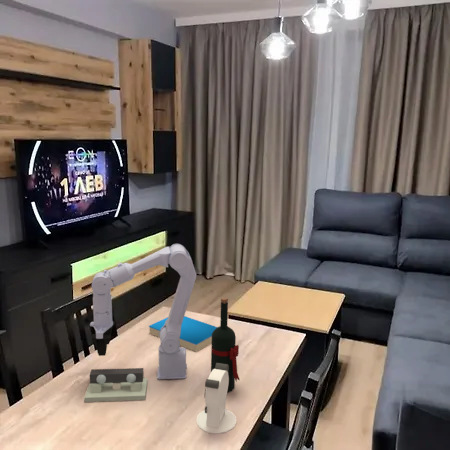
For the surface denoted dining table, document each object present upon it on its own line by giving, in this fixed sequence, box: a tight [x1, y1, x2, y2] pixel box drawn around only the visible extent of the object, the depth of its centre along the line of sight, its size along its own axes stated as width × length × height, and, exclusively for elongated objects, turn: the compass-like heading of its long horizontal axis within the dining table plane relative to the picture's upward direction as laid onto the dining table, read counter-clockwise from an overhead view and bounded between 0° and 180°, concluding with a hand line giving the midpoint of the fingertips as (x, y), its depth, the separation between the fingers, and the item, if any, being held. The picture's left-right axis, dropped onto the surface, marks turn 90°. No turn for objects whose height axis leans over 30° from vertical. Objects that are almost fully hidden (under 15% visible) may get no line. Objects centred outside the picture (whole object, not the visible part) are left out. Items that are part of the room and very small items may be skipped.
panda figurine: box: [196, 363, 237, 435], centre depth 126 cm, size 12×11×15 cm
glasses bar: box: [89, 367, 145, 384], centre depth 139 cm, size 16×4×3 cm, turn 95°
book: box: [148, 315, 218, 353], centre depth 179 cm, size 17×4×25 cm
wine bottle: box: [210, 297, 240, 394], centre depth 140 cm, size 8×10×30 cm
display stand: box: [83, 377, 148, 403], centre depth 139 cm, size 18×10×4 cm, turn 96°
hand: (104, 349), depth 145 cm, fingers open, 7 cm apart
